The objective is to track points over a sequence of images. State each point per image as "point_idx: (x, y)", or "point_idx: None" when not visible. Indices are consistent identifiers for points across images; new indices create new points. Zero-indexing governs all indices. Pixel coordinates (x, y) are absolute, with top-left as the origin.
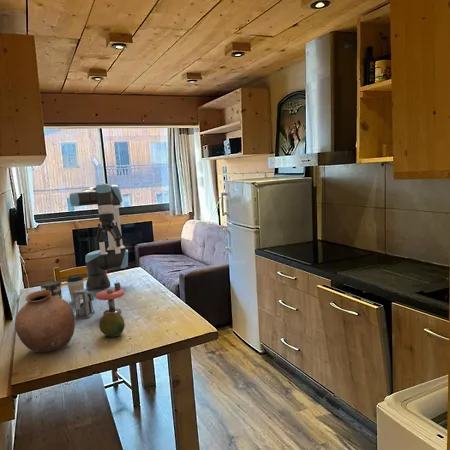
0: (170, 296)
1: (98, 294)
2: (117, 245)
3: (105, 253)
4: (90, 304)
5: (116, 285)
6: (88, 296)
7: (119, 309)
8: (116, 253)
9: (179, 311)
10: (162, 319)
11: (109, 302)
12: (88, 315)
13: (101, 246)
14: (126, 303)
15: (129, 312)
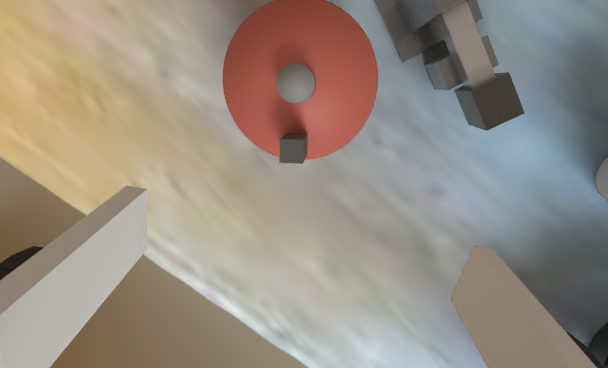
0: (222, 300)
1: (344, 32)
2: (16, 262)
3: (452, 300)
4: (433, 63)
5: (287, 137)
6: (470, 79)
7: None
8: (126, 190)
9: (81, 177)
10: (76, 92)
11: None
12: (390, 7)
13: (532, 348)
14: (339, 199)
15: None
